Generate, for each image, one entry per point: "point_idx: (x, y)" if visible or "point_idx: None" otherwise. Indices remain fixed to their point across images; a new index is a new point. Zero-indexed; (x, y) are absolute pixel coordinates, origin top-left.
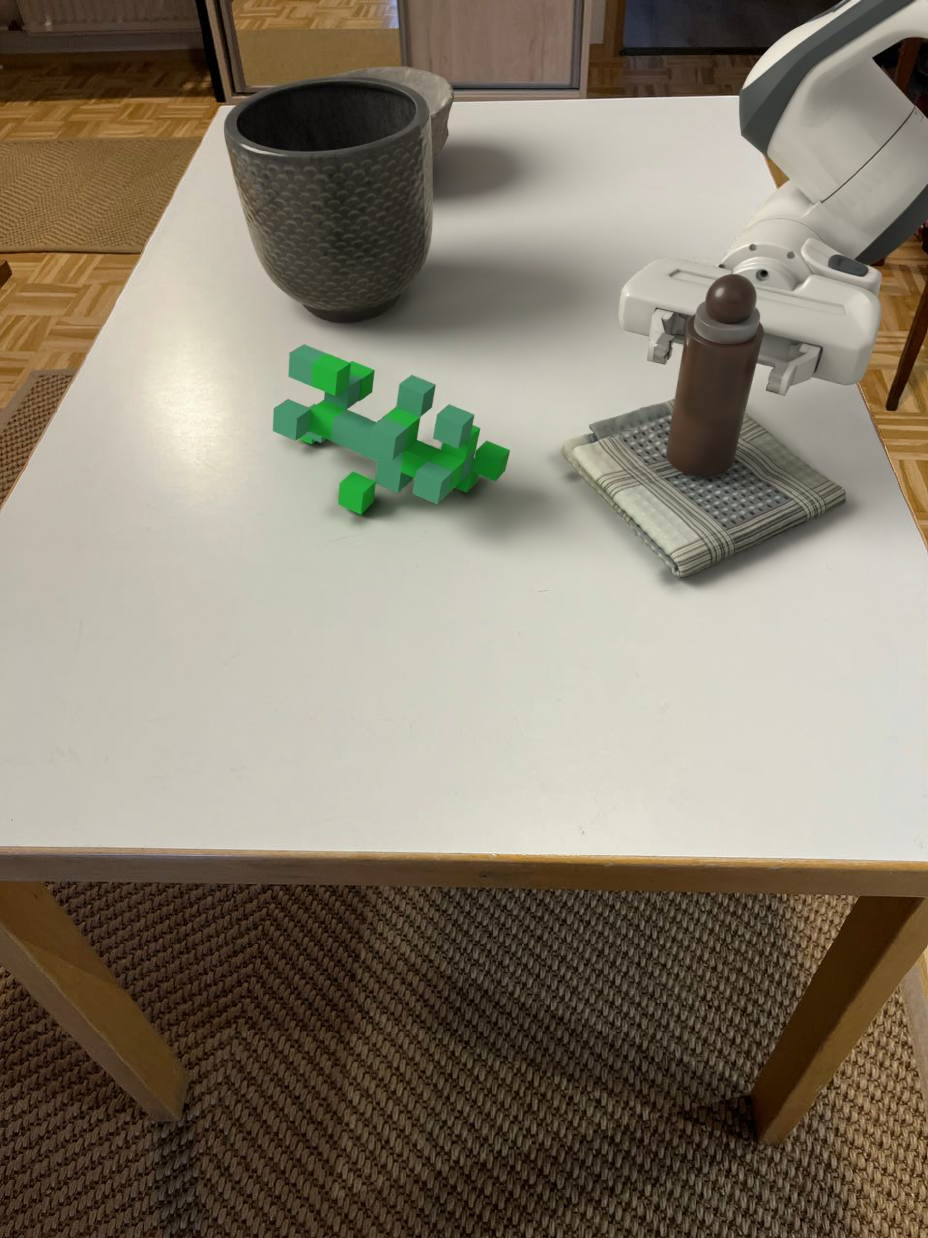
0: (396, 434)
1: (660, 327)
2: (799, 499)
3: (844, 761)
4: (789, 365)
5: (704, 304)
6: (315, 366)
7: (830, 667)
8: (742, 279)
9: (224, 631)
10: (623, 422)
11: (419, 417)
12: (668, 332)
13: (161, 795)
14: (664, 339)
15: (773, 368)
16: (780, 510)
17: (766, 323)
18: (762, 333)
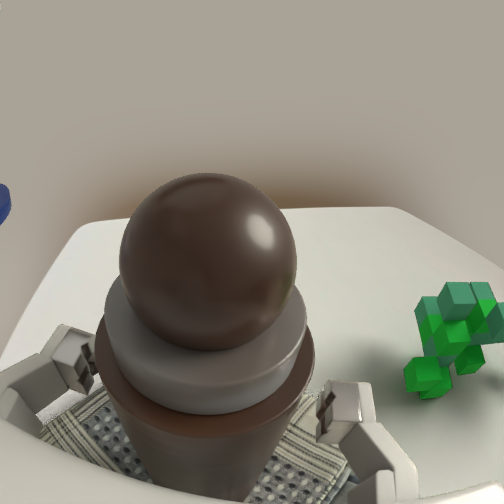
0: (473, 285)
1: (376, 435)
2: (72, 423)
3: (97, 247)
4: (51, 352)
5: (291, 326)
6: None
7: (86, 291)
8: (184, 179)
9: (427, 262)
10: None
11: (484, 317)
12: (355, 498)
13: (377, 216)
14: (347, 398)
15: (84, 343)
16: (95, 402)
17: (78, 467)
18: (101, 325)
